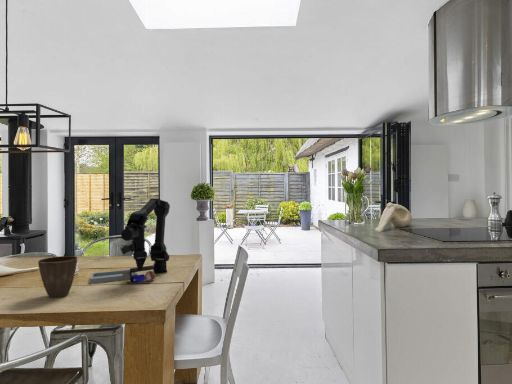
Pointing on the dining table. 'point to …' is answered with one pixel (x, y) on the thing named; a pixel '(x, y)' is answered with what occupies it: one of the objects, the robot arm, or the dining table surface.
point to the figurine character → (148, 276)
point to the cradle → (109, 276)
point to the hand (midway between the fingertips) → (139, 269)
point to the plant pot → (57, 274)
